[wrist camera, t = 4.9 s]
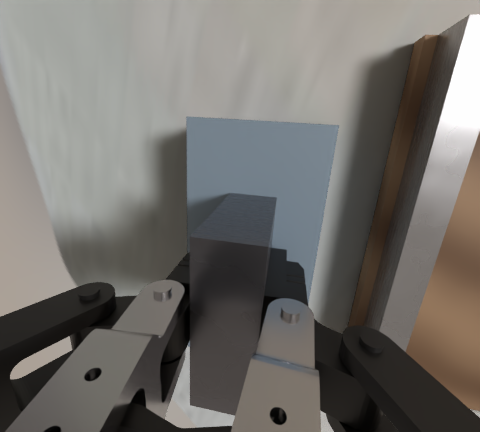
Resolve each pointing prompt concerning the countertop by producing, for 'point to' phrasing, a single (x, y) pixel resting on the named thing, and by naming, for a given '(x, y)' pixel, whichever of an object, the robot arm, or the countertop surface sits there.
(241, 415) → the robot arm
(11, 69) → the countertop surface
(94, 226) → the countertop surface
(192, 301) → the blue block with handle
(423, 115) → the tray
